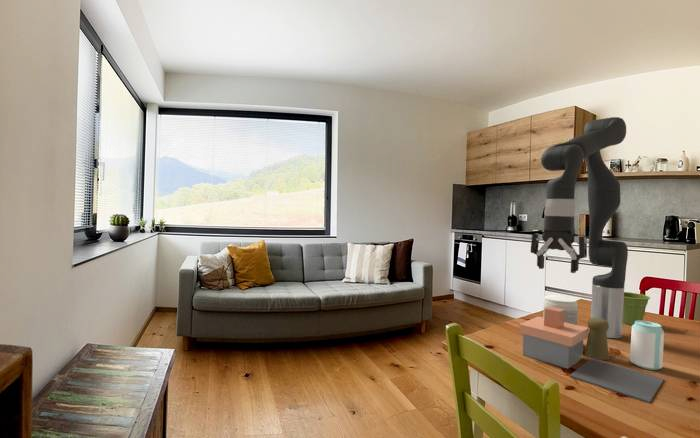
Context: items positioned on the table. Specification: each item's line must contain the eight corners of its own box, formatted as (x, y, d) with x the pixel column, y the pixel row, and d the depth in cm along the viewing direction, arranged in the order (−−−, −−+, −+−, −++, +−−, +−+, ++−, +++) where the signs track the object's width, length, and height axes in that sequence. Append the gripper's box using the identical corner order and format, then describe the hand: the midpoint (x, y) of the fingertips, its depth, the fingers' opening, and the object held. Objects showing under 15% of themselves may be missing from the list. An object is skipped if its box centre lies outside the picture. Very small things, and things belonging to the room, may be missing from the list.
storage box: (539, 345, 114) (540, 320, 114) (582, 358, 105) (583, 330, 105) (522, 354, 107) (523, 327, 106) (567, 368, 98) (569, 339, 97)
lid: (538, 323, 116) (539, 300, 116) (588, 336, 105) (589, 310, 105) (518, 332, 107) (520, 307, 106) (571, 346, 96) (573, 318, 96)
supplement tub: (582, 345, 116) (584, 299, 116) (567, 350, 111) (569, 303, 111) (551, 336, 124) (553, 293, 124) (536, 340, 119) (538, 296, 119)
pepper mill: (579, 351, 111) (581, 315, 110) (598, 351, 111) (600, 316, 111) (594, 359, 105) (596, 322, 104) (614, 359, 105) (616, 322, 105)
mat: (591, 359, 105) (591, 358, 105) (663, 380, 93) (663, 378, 93) (569, 376, 93) (569, 375, 93) (649, 403, 81) (649, 401, 81)
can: (623, 359, 105) (625, 319, 105) (648, 361, 105) (650, 320, 105) (642, 370, 98) (644, 326, 98) (669, 371, 98) (671, 327, 98)
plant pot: (611, 316, 151) (612, 290, 151) (647, 322, 144) (649, 294, 144) (611, 323, 142) (612, 294, 142) (650, 330, 135) (651, 300, 135)
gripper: (591, 216, 102) (588, 273, 103) (538, 214, 113) (536, 266, 113) (583, 215, 97) (580, 275, 98) (528, 214, 108) (526, 268, 108)
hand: (556, 270), depth 105 cm, fingers open, 8 cm apart
